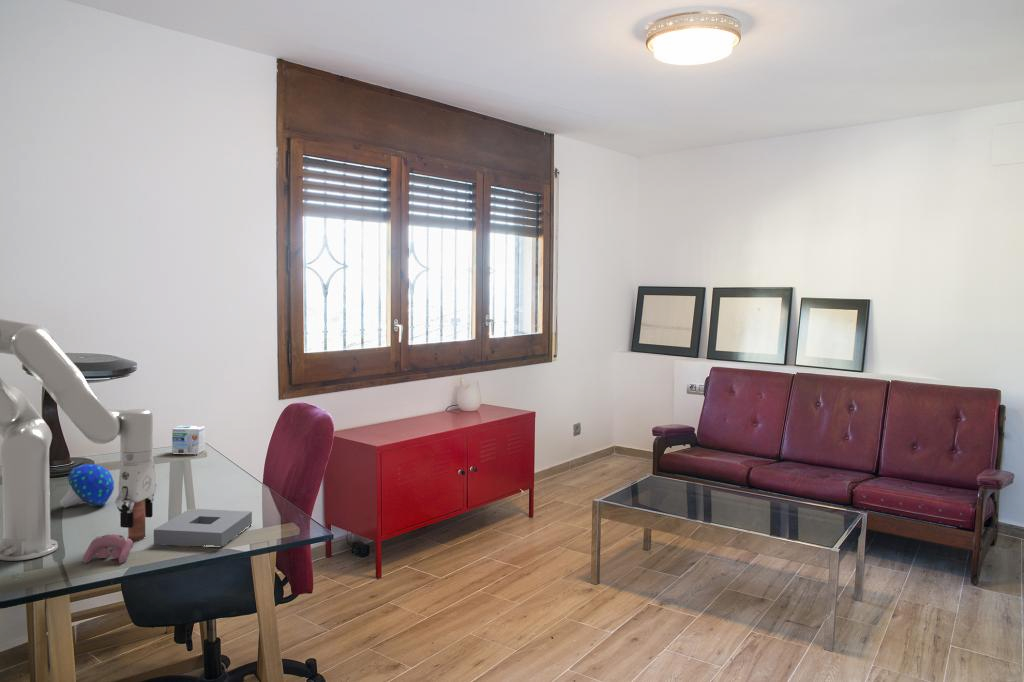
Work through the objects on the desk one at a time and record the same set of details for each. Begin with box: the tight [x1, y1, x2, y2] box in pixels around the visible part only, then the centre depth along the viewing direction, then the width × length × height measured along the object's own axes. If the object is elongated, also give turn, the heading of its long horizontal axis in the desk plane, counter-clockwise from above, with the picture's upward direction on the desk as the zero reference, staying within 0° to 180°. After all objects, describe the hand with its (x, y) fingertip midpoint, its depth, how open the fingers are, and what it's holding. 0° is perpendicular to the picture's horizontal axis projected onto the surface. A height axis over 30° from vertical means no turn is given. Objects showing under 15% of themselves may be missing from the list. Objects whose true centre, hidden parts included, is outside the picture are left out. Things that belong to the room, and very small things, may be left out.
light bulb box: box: [171, 425, 206, 454], centre depth 279 cm, size 11×7×11 cm, turn 95°
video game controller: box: [83, 534, 134, 564], centre depth 168 cm, size 10×5×7 cm, turn 92°
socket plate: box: [153, 508, 253, 548], centre depth 187 cm, size 18×18×4 cm
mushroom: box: [59, 463, 115, 508], centre depth 208 cm, size 14×14×15 cm
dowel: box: [127, 499, 146, 541], centre depth 183 cm, size 4×4×12 cm
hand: (136, 521), depth 183 cm, fingers open, 7 cm apart
